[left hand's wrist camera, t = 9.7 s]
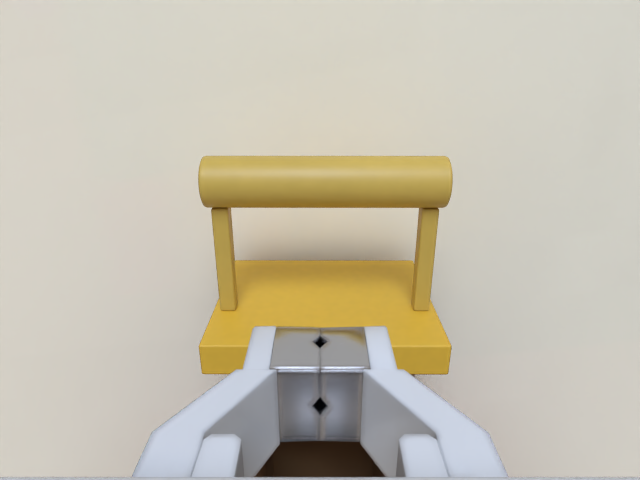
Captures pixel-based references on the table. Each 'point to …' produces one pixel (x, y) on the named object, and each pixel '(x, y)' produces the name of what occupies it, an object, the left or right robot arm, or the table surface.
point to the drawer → (325, 275)
